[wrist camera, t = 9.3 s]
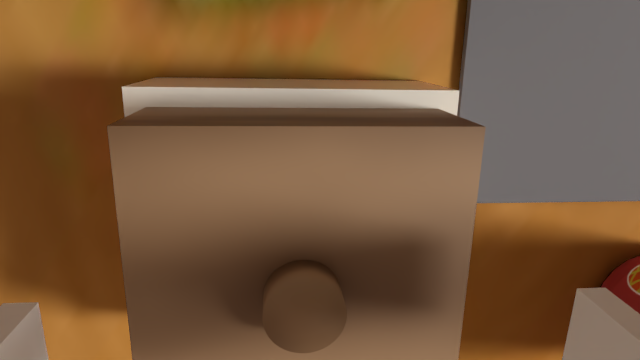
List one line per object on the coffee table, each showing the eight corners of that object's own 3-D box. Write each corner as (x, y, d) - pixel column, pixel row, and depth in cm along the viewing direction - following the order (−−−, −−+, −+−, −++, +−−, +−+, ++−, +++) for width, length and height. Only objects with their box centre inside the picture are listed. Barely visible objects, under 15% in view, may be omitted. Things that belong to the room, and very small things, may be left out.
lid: (146, 106, 16) (90, 134, 11) (438, 108, 17) (505, 134, 12) (167, 363, 19) (130, 475, 14) (416, 351, 20) (464, 452, 15)
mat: (473, -58, 20) (477, -60, 20) (721, -47, 22) (729, -49, 21) (447, 200, 24) (450, 203, 23) (663, 198, 25) (670, 200, 25)
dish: (156, 77, 21) (121, 86, 16) (418, 80, 22) (459, 90, 17) (174, 314, 24) (150, 381, 19) (401, 306, 25) (431, 367, 20)
